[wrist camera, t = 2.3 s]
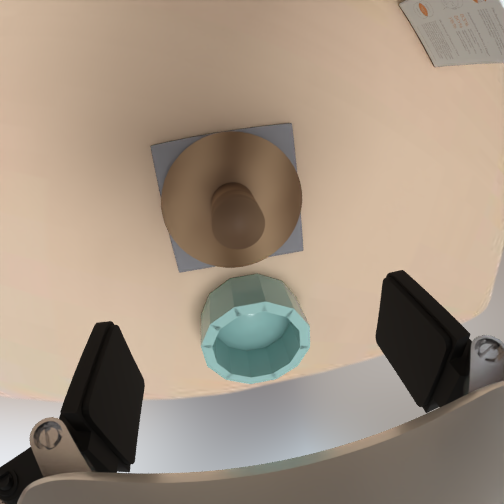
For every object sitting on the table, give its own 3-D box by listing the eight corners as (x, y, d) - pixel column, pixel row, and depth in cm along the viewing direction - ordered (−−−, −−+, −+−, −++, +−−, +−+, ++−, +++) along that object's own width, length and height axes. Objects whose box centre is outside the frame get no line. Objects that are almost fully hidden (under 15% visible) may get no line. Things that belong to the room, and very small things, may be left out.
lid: (291, 123, 24) (317, 125, 18) (303, 250, 29) (326, 284, 23) (150, 145, 23) (131, 154, 18) (179, 272, 28) (173, 312, 23)
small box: (463, 52, 22) (549, 50, 11) (433, 68, 23) (528, 65, 11) (430, -8, 19) (511, -31, 7) (396, 3, 20) (482, -30, 8)
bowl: (294, 266, 31) (308, 293, 26) (298, 342, 35) (310, 371, 30) (193, 284, 30) (191, 314, 25) (213, 357, 34) (215, 389, 30)
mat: (289, 123, 25) (291, 123, 24) (301, 248, 30) (303, 250, 29) (151, 145, 24) (150, 146, 23) (179, 269, 29) (179, 272, 28)
